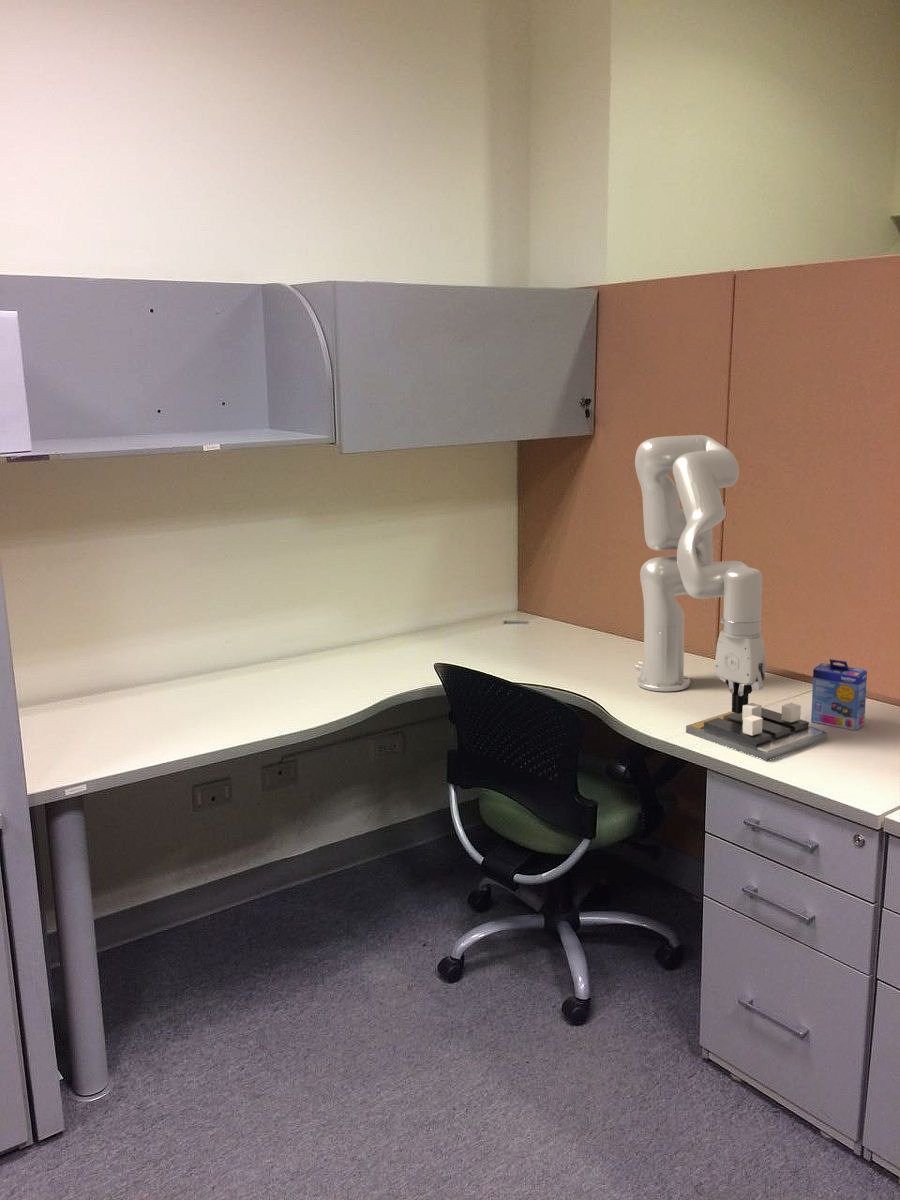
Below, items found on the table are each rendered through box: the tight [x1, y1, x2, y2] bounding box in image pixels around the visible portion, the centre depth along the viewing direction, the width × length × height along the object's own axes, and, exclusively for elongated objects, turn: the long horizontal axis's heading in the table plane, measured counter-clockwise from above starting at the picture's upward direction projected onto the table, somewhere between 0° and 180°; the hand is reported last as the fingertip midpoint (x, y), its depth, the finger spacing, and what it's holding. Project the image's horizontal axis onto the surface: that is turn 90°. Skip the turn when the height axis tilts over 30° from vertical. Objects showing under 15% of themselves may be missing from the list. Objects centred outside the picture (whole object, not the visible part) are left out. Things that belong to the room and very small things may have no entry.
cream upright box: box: [743, 715, 763, 736], centre depth 203 cm, size 2×3×3 cm
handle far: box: [781, 702, 802, 722], centre depth 209 cm, size 2×3×3 cm
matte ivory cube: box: [742, 702, 762, 719], centre depth 210 cm, size 2×3×3 cm
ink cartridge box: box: [810, 658, 868, 731], centre depth 214 cm, size 10×6×14 cm, turn 51°
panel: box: [685, 706, 829, 762], centre depth 210 cm, size 21×19×3 cm
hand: (739, 711), depth 213 cm, fingers closed
